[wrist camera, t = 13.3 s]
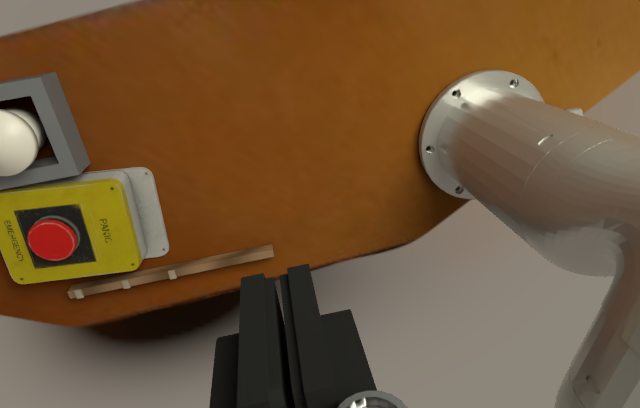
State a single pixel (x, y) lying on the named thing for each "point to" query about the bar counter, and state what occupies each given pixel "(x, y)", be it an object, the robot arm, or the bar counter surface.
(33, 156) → the plunger
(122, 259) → the emergency button
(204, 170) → the bar counter surface
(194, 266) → the rail
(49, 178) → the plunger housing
